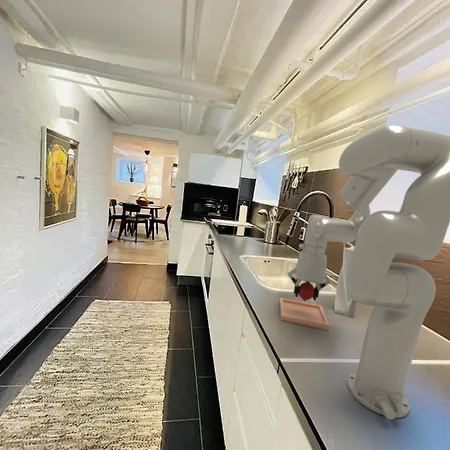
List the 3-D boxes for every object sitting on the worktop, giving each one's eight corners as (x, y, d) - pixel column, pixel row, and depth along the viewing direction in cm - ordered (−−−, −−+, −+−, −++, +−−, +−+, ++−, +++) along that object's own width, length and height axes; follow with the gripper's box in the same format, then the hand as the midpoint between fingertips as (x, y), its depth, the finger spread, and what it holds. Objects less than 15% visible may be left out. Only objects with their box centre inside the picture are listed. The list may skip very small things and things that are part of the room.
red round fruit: (313, 305, 95) (317, 284, 94) (297, 302, 96) (300, 281, 95) (311, 299, 101) (315, 279, 100) (296, 296, 102) (299, 276, 101)
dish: (328, 330, 90) (329, 325, 90) (280, 320, 93) (281, 315, 93) (320, 310, 106) (321, 305, 106) (279, 302, 108) (280, 297, 108)
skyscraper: (330, 311, 106) (344, 243, 102) (330, 304, 114) (343, 240, 110) (353, 317, 103) (369, 247, 100) (351, 309, 111) (365, 244, 107)
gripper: (290, 247, 94) (281, 296, 96) (341, 256, 91) (331, 306, 94) (289, 243, 101) (281, 289, 104) (336, 251, 98) (327, 298, 101)
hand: (305, 296), depth 99 cm, fingers closed on red round fruit, 5 cm apart
